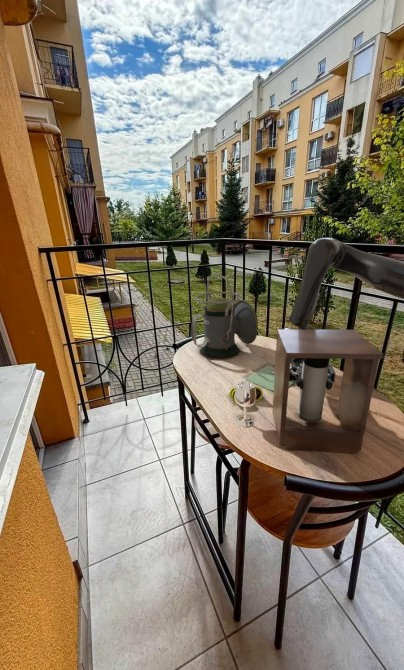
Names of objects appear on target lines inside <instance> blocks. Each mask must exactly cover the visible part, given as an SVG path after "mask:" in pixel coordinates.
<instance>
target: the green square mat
mask: <svg viewBox="0 0 404 670" xmlns="http://www.w3.org/2000/svg"><path fill="white" fill-rule="evenodd" d="M273 371H275V367H272V366H269V365H266V366H265V367H263V368H261V369H259V370H257V371H256V372H255V373H253V374H251V375H250V376H248V377H246V378H245V380H244V381H249V382H252V383H253V384H254V385H255V386H258V387H261V388H263V389H266V390H268V391H271V392H273V393H274V378H275V372H273ZM294 384H296V383H295V382H294V380H292V381H289V387H291V386H292V385H294Z"/></svg>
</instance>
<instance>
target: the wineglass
mask: <svg viewBox="0 0 404 670" xmlns="http://www.w3.org/2000/svg"><path fill="white" fill-rule="evenodd" d="M255 386H256V385H255V384H254V383H252V382H249V381H247V380H241V381H238V382H237V384H236V387H235V388H236V390H235V400H236V402H237V404H238V406H240V407H242V408H243V413H244V414H243V415H244V416H241V417H238V418H237V421H236V422H237V425H238V426H240V427H242V428H249V427H251V426H253V424H254V420H253V419H252V418H251V417H247V411H248V408H250V407H252V406H254V405H255V404H256V402H257V401H256V400H257V399H256V390H255ZM237 404H236V405H237Z"/></svg>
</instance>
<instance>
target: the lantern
mask: <svg viewBox="0 0 404 670" xmlns="http://www.w3.org/2000/svg"><path fill="white" fill-rule="evenodd" d="M213 276H214V277H215V278H219V279H224V280H225V282H226V284H227V286H228V289H229V291H212V292H210V291H209V285H210V281H211V279H212V277H213ZM205 291H206V292H203V293H200V294H198V295H197V296H195V297H194V299H195V300H196V302H198V305H199V307H201V308H202V310H203V314H199V313H198V314H195V315H194V316H193V317H192V320H191V326H190V327H191V328H190V334H191V335H190V336H191V339H192V341H193V344H194V345H195V346H196V347H197V348H200V349H199V355H200V354H201V355H202V356H201V355H200V356H201V357H203V358H205V357H206V358H205V359H208V358H209V359H208V360H213V359H215V360H214V361H225V360H224V359H226V360H231V359H233V357H234V358H236V357H238V356H239V355H240V354H241V349H240V348H239V346H238V345H237V344H236V339H235V336H237V337H238V339H239V340H240V341H241V342H242V343H243V344H245V345H250V344H253V343H254V342H255V341H256V338H257V336H258V332H259V321H258V316H257V314H256V311H255V308H254V307H253V305H252V304H251V303H250V302H249V301H248V300H245V299H243V297H244V295H242V294H240V293H237V292H233V290H232V287H231V285H230V282H229V280H228V278H227V277H226V276H224V275H222V276H221V274H220V273H216V274H215V273H211V274H210V275H209V277H208V279H207V283H206V290H205ZM214 294H223V295H224V294H227V295H230V297H231V299H229V300H228V299H227V298H225V297H221V296H218V297H216V296H215V297H213V298H212V295H214ZM234 295H235V299H234ZM202 296H206V300H202V299H201V298H200V297H202ZM201 303H202V304H206V305H204V306H203V305H202V304H201ZM201 317H202V320H203V330H204V331H203V333H204V335H203V339H204V340H203V341H202V342H201V344H198V343H197V324H196V323H197V322H196V321H197V319H198V318H201ZM239 353H240V354H239ZM237 355H238V356H237ZM235 356H236V357H235ZM230 358H231V359H230Z"/></svg>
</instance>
